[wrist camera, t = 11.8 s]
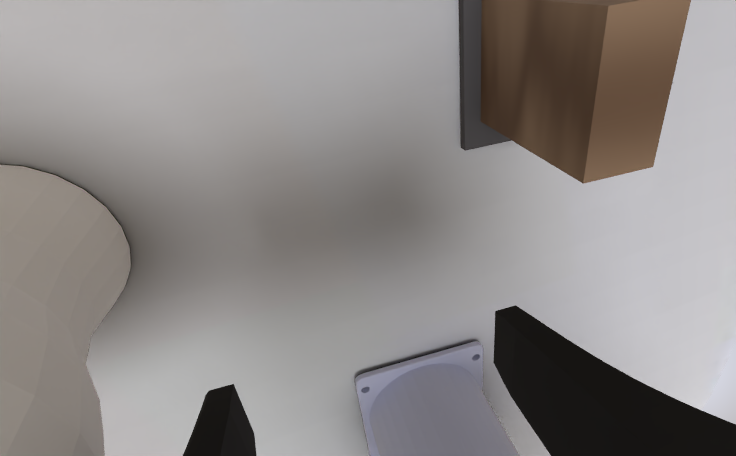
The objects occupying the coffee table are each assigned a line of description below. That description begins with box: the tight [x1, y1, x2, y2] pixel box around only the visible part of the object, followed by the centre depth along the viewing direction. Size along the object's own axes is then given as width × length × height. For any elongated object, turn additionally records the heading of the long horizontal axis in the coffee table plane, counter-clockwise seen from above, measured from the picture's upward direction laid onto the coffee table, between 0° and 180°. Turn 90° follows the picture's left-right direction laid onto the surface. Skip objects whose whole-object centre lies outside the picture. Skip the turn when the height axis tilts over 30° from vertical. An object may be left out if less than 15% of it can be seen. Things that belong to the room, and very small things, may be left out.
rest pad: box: [459, 0, 511, 150], centre depth 19 cm, size 7×4×1 cm, turn 8°
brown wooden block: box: [481, 0, 691, 183], centre depth 16 cm, size 5×2×7 cm, turn 8°
